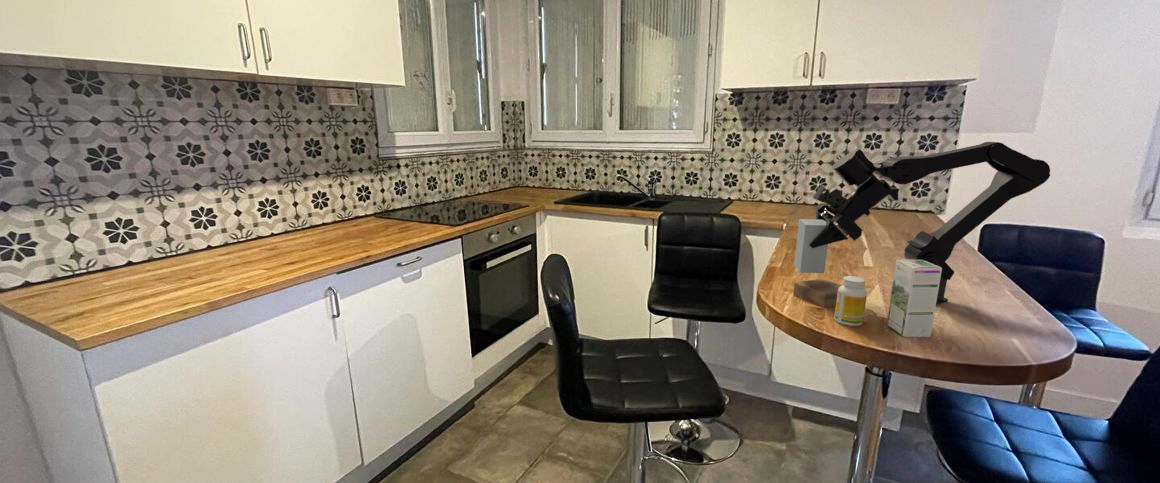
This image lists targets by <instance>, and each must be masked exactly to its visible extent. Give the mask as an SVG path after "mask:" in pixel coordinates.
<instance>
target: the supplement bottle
mask: <svg viewBox="0 0 1160 483" xmlns="http://www.w3.org/2000/svg"><path fill="white" fill-rule="evenodd" d="M865 287H866V279H865V278H863V277H860V276H855V275H845V276H844V277H843V280H842V286H840V287H839V289H838V294H837V301H836V305H835V307H834V308H835V309H834V317H833V318H834V320H835V321H836V322H837V323H839V324H841V325H844V326H849V327H858V326H861V325H863V321H864V317H865V310H866V305H867V298H868V292H867V290H866V289H865Z"/></svg>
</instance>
